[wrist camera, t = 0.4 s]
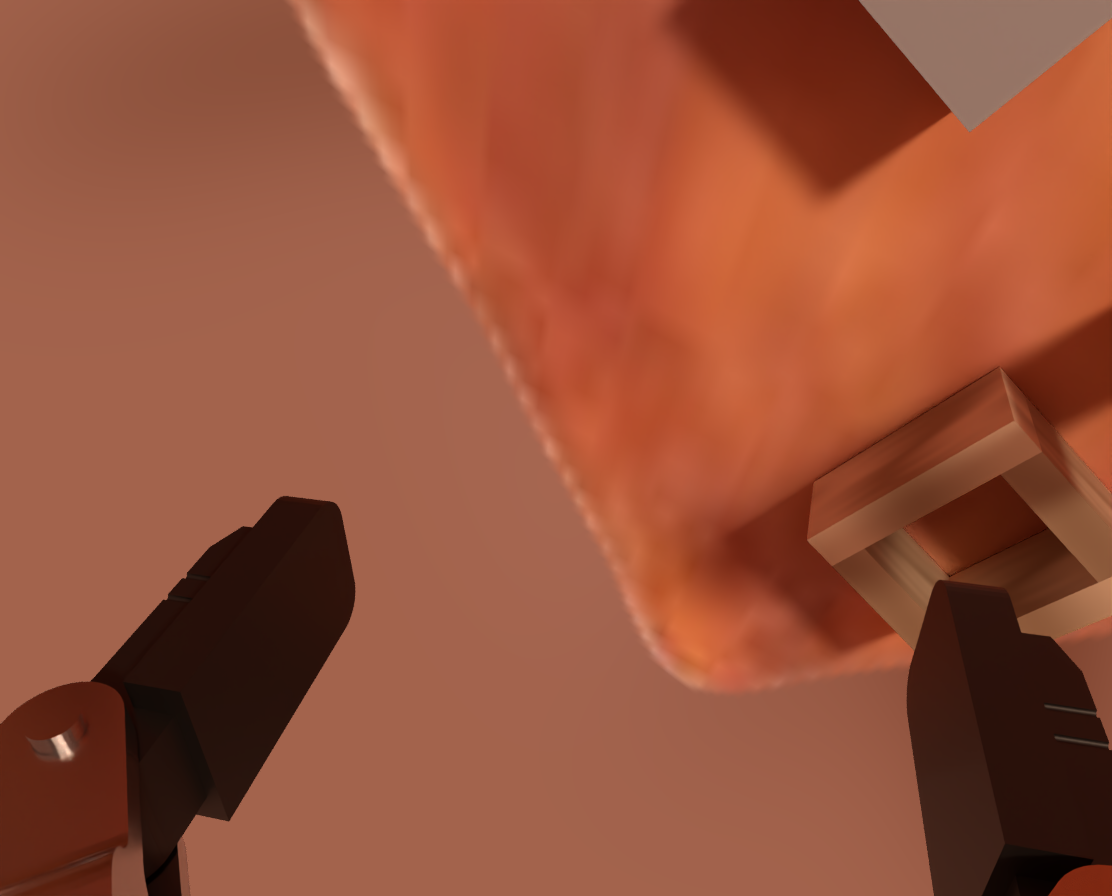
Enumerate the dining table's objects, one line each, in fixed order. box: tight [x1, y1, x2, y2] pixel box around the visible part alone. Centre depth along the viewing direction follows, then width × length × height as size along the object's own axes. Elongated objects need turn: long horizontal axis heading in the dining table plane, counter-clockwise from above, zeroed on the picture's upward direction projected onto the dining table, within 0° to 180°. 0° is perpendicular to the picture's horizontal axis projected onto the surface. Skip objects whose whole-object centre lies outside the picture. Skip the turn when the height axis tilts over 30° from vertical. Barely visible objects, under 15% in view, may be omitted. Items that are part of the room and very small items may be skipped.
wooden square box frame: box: [807, 367, 1112, 651], centre depth 31 cm, size 8×8×4 cm
